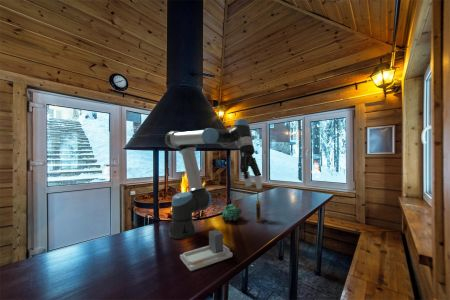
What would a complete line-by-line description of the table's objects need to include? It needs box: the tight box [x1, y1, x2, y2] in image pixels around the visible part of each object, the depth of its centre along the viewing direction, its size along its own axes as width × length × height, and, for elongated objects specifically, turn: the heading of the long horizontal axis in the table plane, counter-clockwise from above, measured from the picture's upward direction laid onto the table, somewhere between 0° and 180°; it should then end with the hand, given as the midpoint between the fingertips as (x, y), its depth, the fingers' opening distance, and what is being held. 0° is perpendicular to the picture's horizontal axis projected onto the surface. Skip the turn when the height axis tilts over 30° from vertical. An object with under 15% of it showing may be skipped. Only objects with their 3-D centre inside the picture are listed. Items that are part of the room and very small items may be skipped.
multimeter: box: [255, 191, 270, 225], centre depth 136 cm, size 15×10×20 cm
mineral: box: [221, 203, 243, 222], centre depth 140 cm, size 18×16×10 cm
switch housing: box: [179, 244, 233, 272], centre depth 87 cm, size 20×12×2 cm, turn 122°
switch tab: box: [208, 229, 224, 254], centre depth 90 cm, size 4×6×8 cm, turn 33°
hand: (254, 187), depth 94 cm, fingers open, 13 cm apart
